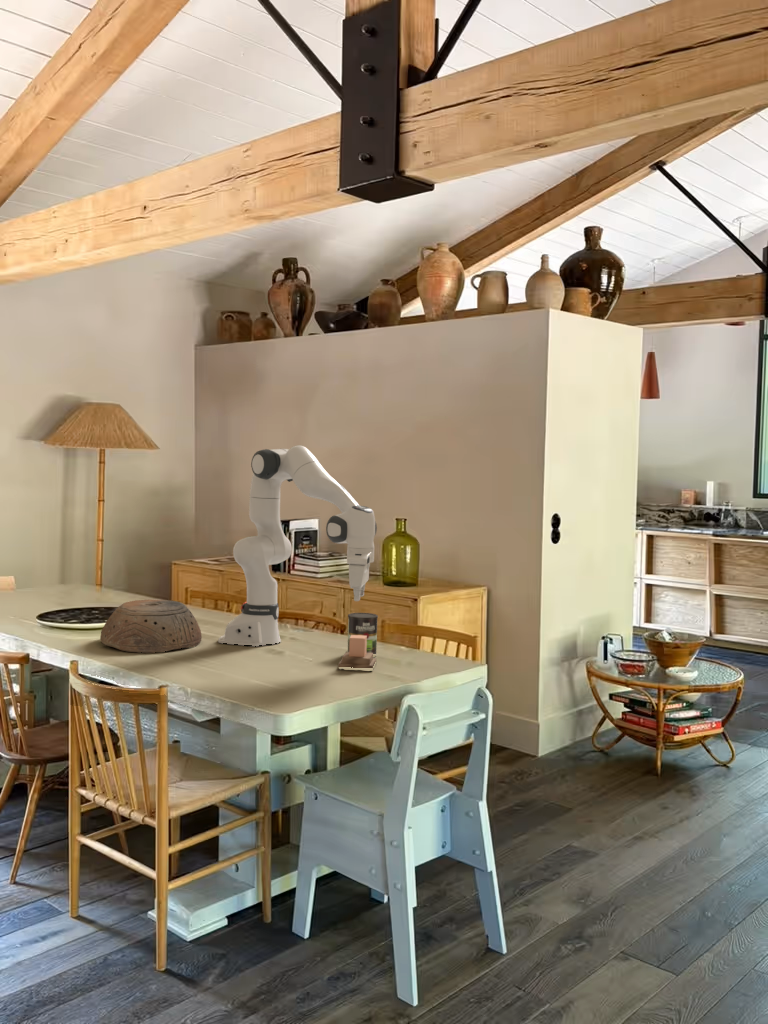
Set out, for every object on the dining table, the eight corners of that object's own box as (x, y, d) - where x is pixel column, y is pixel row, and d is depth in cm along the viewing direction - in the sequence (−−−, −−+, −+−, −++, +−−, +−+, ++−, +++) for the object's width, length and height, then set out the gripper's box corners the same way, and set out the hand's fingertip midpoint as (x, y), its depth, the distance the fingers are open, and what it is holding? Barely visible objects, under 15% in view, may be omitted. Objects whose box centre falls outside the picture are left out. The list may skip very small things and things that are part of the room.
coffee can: (380, 658, 316) (381, 617, 315) (350, 659, 313) (351, 617, 312) (372, 651, 326) (373, 612, 325) (344, 652, 323) (345, 612, 322)
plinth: (338, 670, 296) (338, 657, 296) (343, 662, 307) (343, 650, 307) (372, 671, 295) (372, 659, 295) (376, 664, 306) (376, 652, 306)
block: (349, 656, 299) (349, 637, 298) (351, 652, 304) (351, 634, 303) (364, 656, 298) (364, 638, 298) (366, 653, 303) (366, 635, 303)
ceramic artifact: (87, 654, 312) (86, 610, 311) (113, 635, 347) (113, 596, 347) (192, 654, 313) (192, 610, 312) (208, 635, 349) (208, 596, 348)
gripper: (355, 552, 310) (353, 593, 311) (346, 559, 289) (344, 602, 290) (374, 553, 309) (372, 594, 310) (366, 560, 289) (364, 604, 290)
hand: (359, 598), depth 300 cm, fingers open, 8 cm apart
